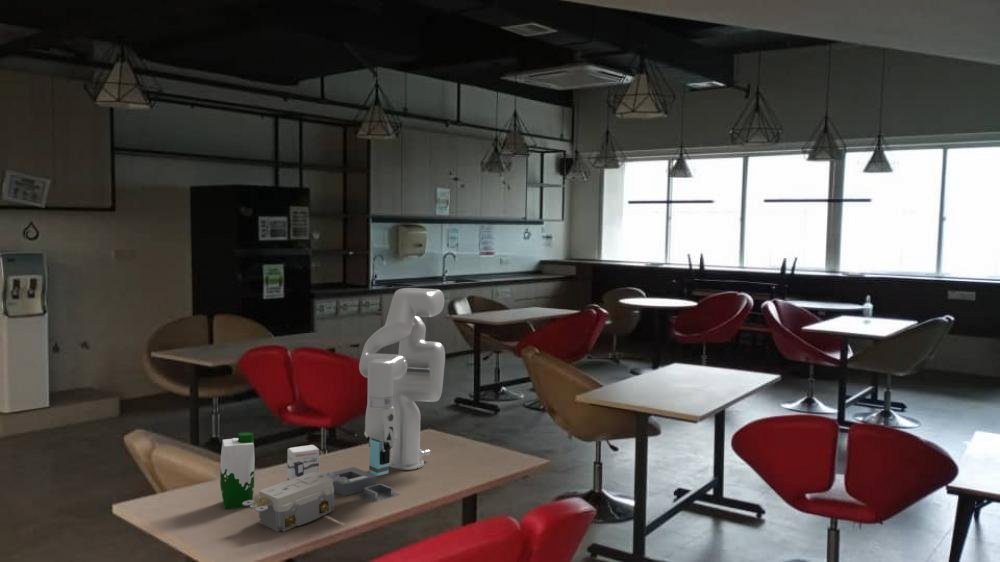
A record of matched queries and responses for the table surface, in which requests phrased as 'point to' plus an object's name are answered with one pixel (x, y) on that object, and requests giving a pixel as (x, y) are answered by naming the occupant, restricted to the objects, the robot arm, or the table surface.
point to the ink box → (302, 461)
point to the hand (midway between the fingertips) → (379, 461)
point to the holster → (377, 493)
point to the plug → (376, 459)
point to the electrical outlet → (296, 500)
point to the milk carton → (237, 470)
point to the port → (353, 481)
